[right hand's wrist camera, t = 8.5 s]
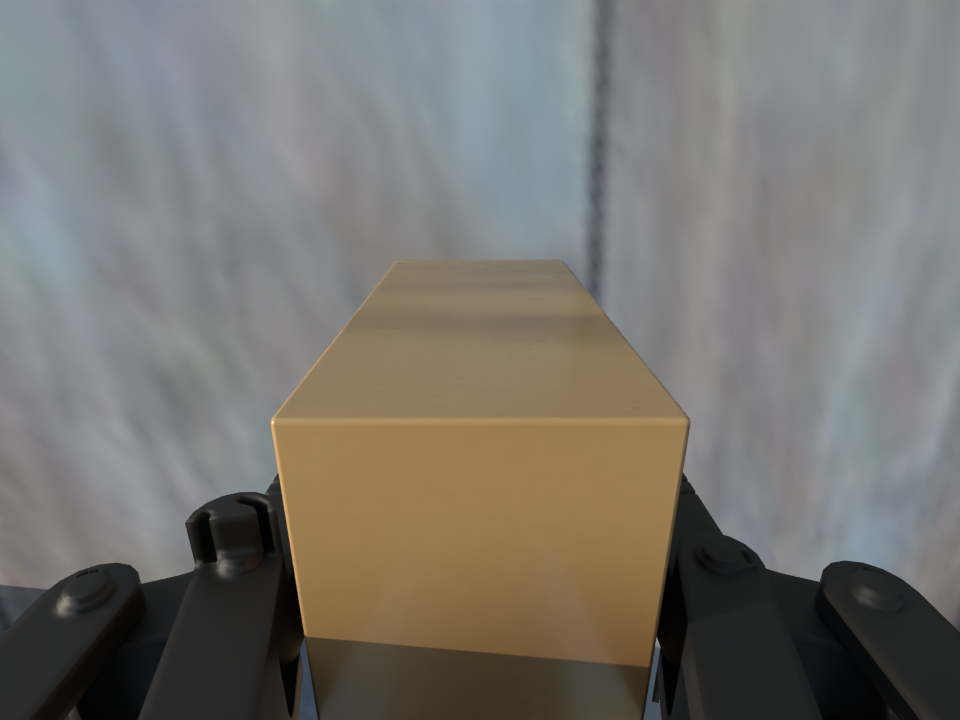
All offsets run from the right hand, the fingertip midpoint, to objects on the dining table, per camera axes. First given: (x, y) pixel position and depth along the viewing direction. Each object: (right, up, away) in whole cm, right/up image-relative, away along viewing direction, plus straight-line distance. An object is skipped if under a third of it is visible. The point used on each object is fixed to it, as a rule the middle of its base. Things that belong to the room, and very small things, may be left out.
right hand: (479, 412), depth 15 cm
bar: (0, -7, +3) cm, 7 cm away
